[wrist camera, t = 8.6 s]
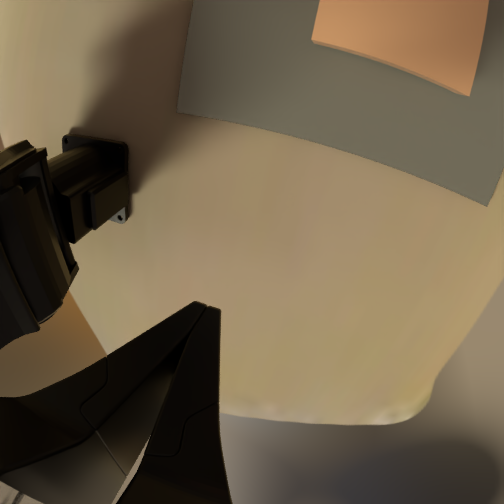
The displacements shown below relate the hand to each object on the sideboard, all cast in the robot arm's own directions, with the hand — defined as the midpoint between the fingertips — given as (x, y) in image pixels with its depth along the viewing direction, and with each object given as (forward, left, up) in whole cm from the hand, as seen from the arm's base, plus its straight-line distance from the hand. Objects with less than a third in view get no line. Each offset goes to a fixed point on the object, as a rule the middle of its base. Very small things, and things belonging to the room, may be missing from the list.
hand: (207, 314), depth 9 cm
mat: (+3, +12, -12) cm, 17 cm away
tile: (0, +12, -10) cm, 16 cm away
